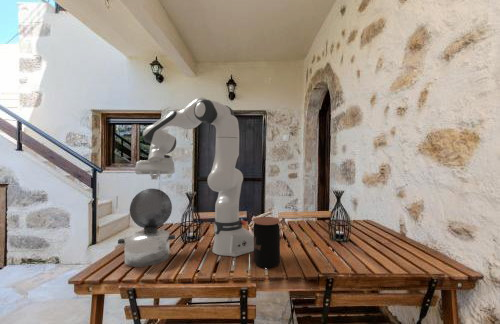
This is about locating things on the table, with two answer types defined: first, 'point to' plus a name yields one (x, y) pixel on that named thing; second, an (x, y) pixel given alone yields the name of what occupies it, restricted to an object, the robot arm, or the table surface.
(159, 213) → the lid
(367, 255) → the table surface
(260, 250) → the coffee jar
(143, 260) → the pot
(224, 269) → the table surface
